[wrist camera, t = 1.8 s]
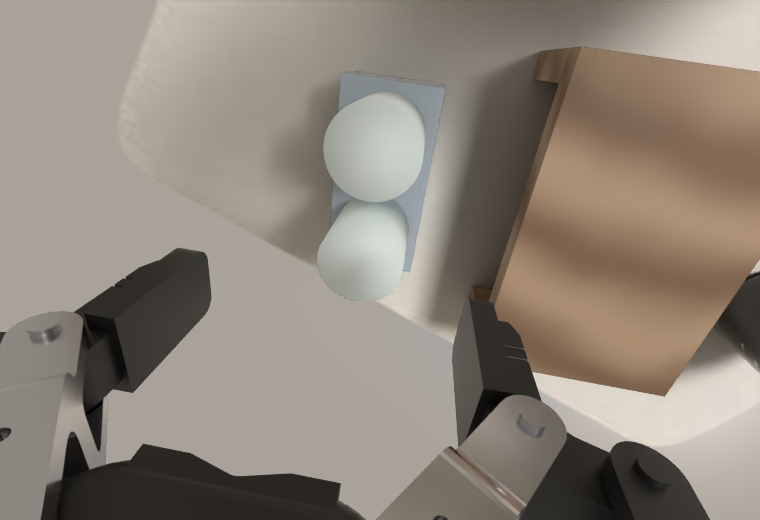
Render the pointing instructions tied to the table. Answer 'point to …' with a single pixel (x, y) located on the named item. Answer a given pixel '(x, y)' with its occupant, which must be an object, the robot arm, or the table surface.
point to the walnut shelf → (632, 216)
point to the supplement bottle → (743, 322)
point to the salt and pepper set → (377, 180)
